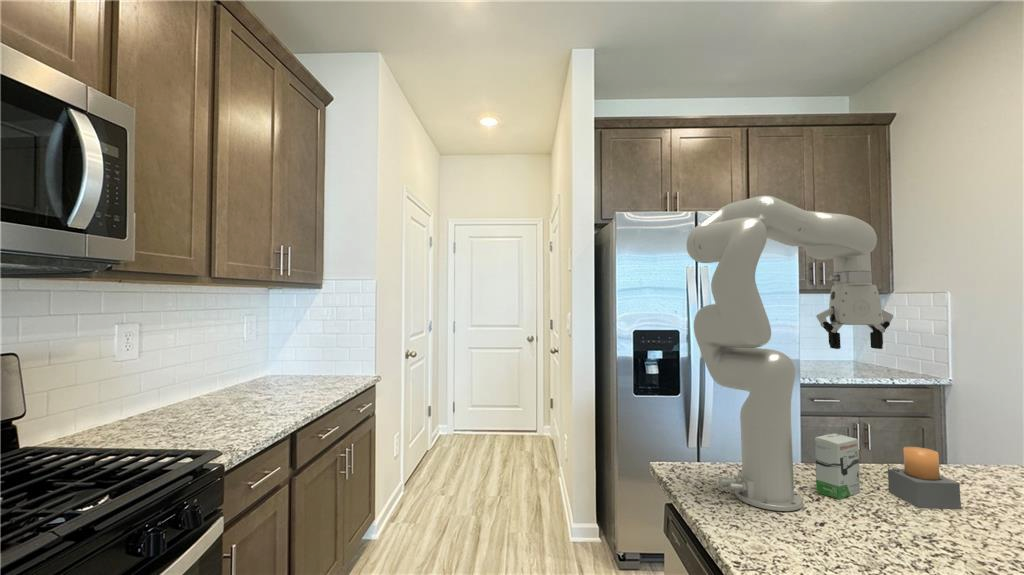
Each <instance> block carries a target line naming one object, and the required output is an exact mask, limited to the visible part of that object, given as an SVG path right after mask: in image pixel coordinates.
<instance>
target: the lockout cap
mask: <svg viewBox="0 0 1024 575" xmlns="http://www.w3.org/2000/svg"><path fill="white" fill-rule="evenodd" d="M902 451H903V465H904V466H903V467H904V468H903V469H904V470H905V473H906V474H908V475H911V476H914V477H918V478H923V479H932V480H935V479H939V478H940V474H941V473H940V459H939V458H940V457H939V456H940V455H939V452H938V451H936V450H934V449H930V448H925V447H919V446H904V447H903V450H902Z"/></svg>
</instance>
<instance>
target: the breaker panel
mask: <svg viewBox="0 0 1024 575" xmlns="http://www.w3.org/2000/svg"><path fill="white" fill-rule="evenodd" d="M887 478H888V479H887V480H888V481H887V482H888V492H889V493H890V494H892V495H894V496H896V497H897V498H899V499H901V500H903V501H904V502H907V503H908V504H910V505H912V506H914V507H916V508H918V509H919V508H920V509H921V508H922V509H946V510H947V509H950V510H951V509H952V510H955V509H956V510H961V509H962V504H961V501H962V500H961V485H960V483H959V482H957V481H955V480H952V479H950V478H948V477H946V476H943V475H940V478H939V480H920V479H917V478H915V477H913V476H910V475H908V474H906V473H905V470H904V468H899V467H897V466H892V467H891V468H887Z"/></svg>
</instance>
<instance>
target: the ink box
mask: <svg viewBox="0 0 1024 575" xmlns="http://www.w3.org/2000/svg"><path fill="white" fill-rule="evenodd" d="M814 445H815V446H814V448H815V449H814V450H815V453H814V455H815V483H816V484H815V487H816V493H818V494H821V495H825V496H828V497H830V496H831V497H830V498H834V497H835V499H837V498H838V499H837V500H842V499H841V498H843V499H845V498H848V497H851V496H854V495H857V494H859V492H860V493H861V487H860V485H861V481H860V480H861V479H860V476H861V475H860V456H859V455H860V453H859V451H860V450H859V439H858V438H855V437H851V436H847V435H843V434H839V433H830V434H824V435H821V436H816V437H814ZM856 493H857V494H856ZM853 494H854V495H853ZM850 495H851V496H850ZM847 496H848V497H847ZM844 497H845V498H844Z"/></svg>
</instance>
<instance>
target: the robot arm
mask: <svg viewBox="0 0 1024 575" xmlns="http://www.w3.org/2000/svg"><path fill="white" fill-rule="evenodd" d="M686 239H687V240H686V251H687V254H688V255H689V257H690V258H691V259H692V260H693V261H695V262H697V263H700V264H713V263H718V264H717V266H716V268H715V271H714V273H713V274H712V278H711V282H710V289H711V295H712V297H713V300H714V303H713V304H707V305H704V306H702V307H701V308H700V309H699V310H698V311H697V312H696V314H695V316H694V318H693V319H694V320H693V334H694V336H695V340H696V343H697V345H698V348H699V351H700V353H701V356H702V358H703V360H704V363H705V366H706V368H707V371H708V373H709V375H710V377H711V378H712V380H713V381H714V382H715V383H716V384H717V385H718V386H721V387H725V388H727V389H728V388H729V389H734V390H741V391H745V392H748V395H747V398H746V399H745V401H744V402H743V404H742V406H741V408H740V413H739V415H740V416H739V418H740V419H739V420H740V421H739V422H740V446H741V447H740V448H741V471H737V475H734V476H733V477H728V476H725V477H724V476H723V477H722V476H719V477H718V484H719V485H718V486H720V487H721V488H722V487H723V488H724V487H725V488H727V487H728V488H729V490H730V491H734V494H735V496H736V497H737V499H738V500H740V501H741V502H743V503H745V504H747V505H750V506H752V507H756V508H759V509H764V510H768V511H769V510H770V511H776V512H793V511H797V510H800V509H802V508H803V507H804V498H803V497H802V496H801V495H800V494H798V493H797V492H795V487H794V486H795V484H794V482H795V481H794V480H795V478H794V457H793V436H792V435H793V432H792V431H793V430H792V398H793V397H792V396H793V389H794V384H795V379H796V378H795V377H796V368H795V365H794V362H793V360H792V359H791V357H789V356H788V355H787V354H786V353H784V352H781V351H779V350H777V349H776V350H775V349H771V348H770V349H769V348H761V347H763V346H765V345H767V344H768V343H769V342H770V340H771V338H772V328H771V324H770V321H769V318H768V315H767V311H766V309H765V307H764V303H763V300H762V298H761V294H760V292H759V289H758V286H757V283H756V270H757V267H758V264H759V260H760V258H761V255H762V253H763V251H764V249H765V247H766V244H767V239H770V240H773V241H775V242H778V243H780V244H783V245H785V246H789V247H803V248H804V251H805V252H806V254H807V255H808V256H809V257H811V258H813V259H816V260H820V261H821V260H832V259H833V275H829V282H833V284H834V285H832V286H831V289H830V296H829V308H828V309H826V310H824V311H821V312H820V313H818V314H816V319H817V321H818V322H819V324H820V326H821V327H822V328H823V329H824V330H825V332H827V333H828V345H829V348H830V349H835V350H841V333H840V332H838V331H839V330H840V329H841V328H842V327H843V325H845V326H867V327H868V328H869V329H870V330H871V331H870V332H869V335H870V336H869V338H870V340H869V341H870V348H871V349H876V350H877V349H878V350H883V349H884V348H883V347H884V346H883V345H884V334H883V333H885V332H886V329H888V328H889V326H890V325H891V322H892V321H893V318H894V315H893V314H892V313H890V312H888V311H886V310H884V309H882V303H881V298H880V294H879V290H878V287H877V285H876V284H873V280H872V279H873V277H872V259H871V258H872V257H871V253H872V252H873V251H874V249H875V248H876V247H877V244H878V243H877V242H878V237H877V234H876V232H875V229H874V228H873V227H872V226H871V225H870V224H869V223H867V222H866V221H864V220H862V219H860V218H857V217H855V216H853V215H852V216H851V215H849V214H848V215H847V214H843V213H831V212H821V211H812V210H805V209H803V208H800V207H798V206H796V205H793V204H791V203H788V202H787V201H784V200H782V199H780V198H777V197H775V196H772V195H760V196H755V197H750V198H747V199H744V200H743V199H741V200H737V201H735V202H731V203H728V204H726V205H724V206H723V207H721V208H720V209H718V210H716V211H715V212H713V213H712V214H711V215H710V216H709V217H707V218H706V219H704V220H703V221H702V222H700V223H699V224H698V225H696V226H695V227H694V228H692V230H691V231H690V233H689V234H688V236H687V238H686ZM828 317H829V321H830V322H828V321H827V318H828Z"/></svg>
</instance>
